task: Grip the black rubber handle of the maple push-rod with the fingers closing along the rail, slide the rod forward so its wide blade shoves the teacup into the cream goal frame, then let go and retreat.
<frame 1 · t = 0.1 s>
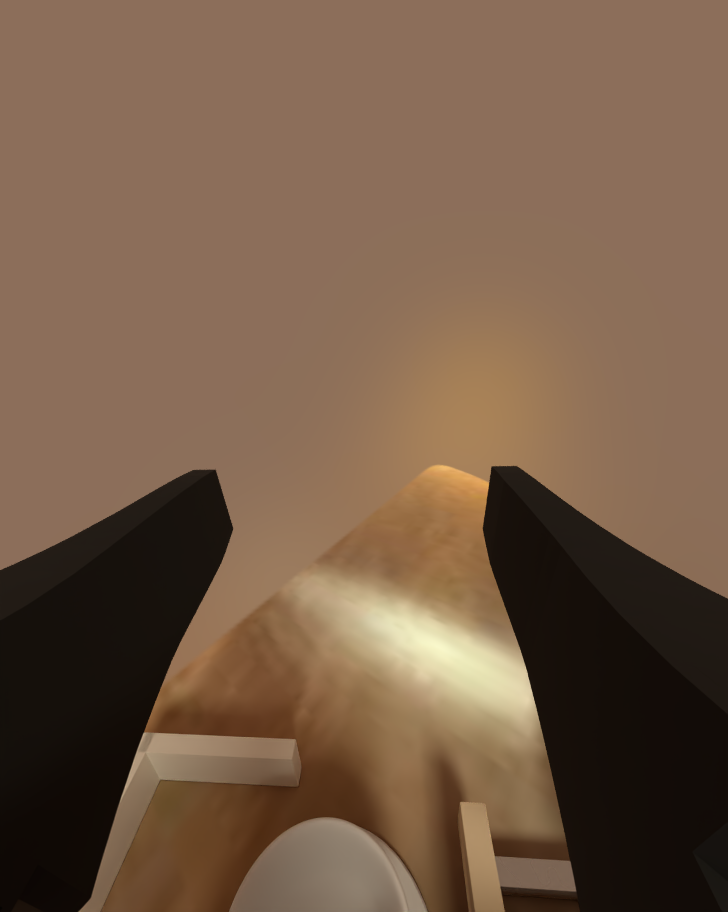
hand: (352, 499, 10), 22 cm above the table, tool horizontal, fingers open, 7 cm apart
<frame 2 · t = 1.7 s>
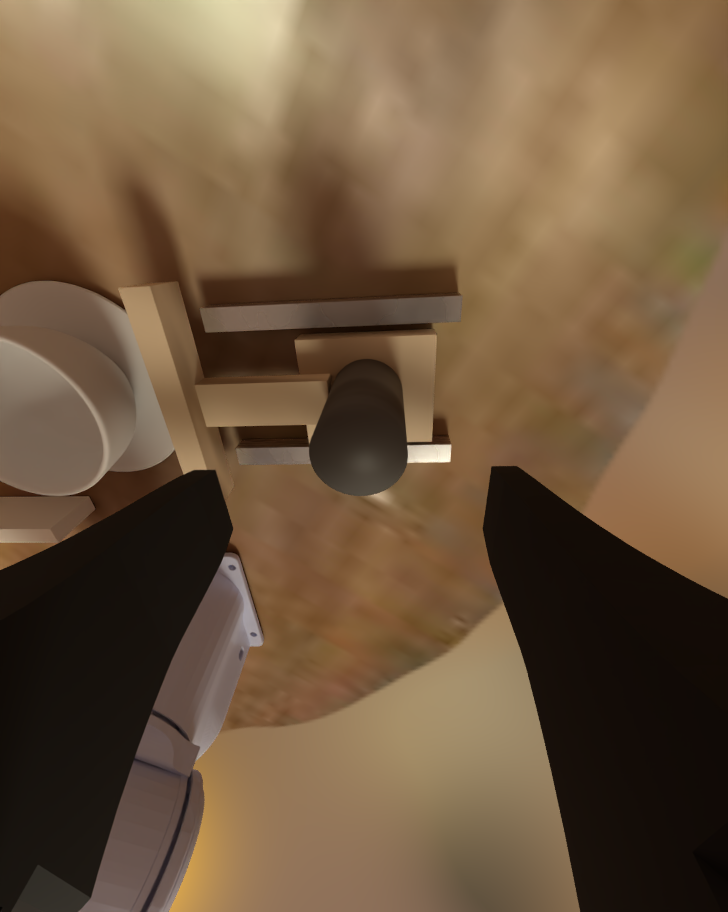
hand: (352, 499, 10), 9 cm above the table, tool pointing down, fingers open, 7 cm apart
rail: (338, 384, 18), on the table
teacup: (96, 384, 19), on the table
pushrod: (296, 415, 15), point 4 cm above the table, slide at 0.0 cm
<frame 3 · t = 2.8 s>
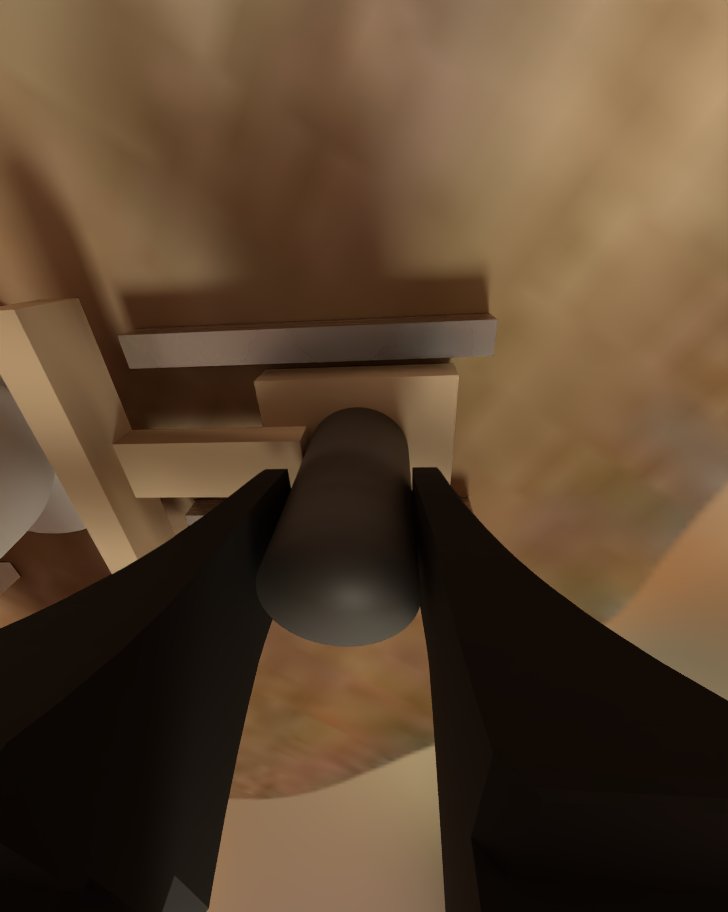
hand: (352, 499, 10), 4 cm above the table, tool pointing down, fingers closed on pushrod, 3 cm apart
rail: (320, 434, 13), on the table
teacup: (6, 424, 14), on the table
pushrod: (253, 493, 10), point 4 cm above the table, slide at 0.0 cm, touching gripper
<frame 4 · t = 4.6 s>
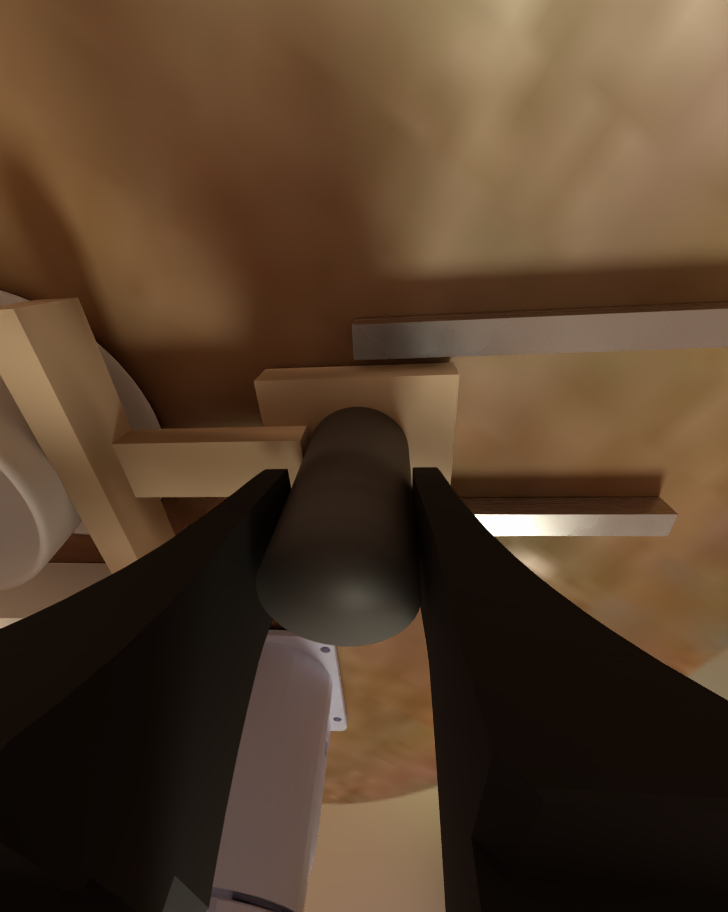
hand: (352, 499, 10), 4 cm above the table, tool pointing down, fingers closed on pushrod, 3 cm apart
rail: (520, 430, 13), on the table
teacup: (47, 424, 14), on the table
pushrod: (253, 493, 10), point 4 cm above the table, slide at 7.0 cm, touching gripper
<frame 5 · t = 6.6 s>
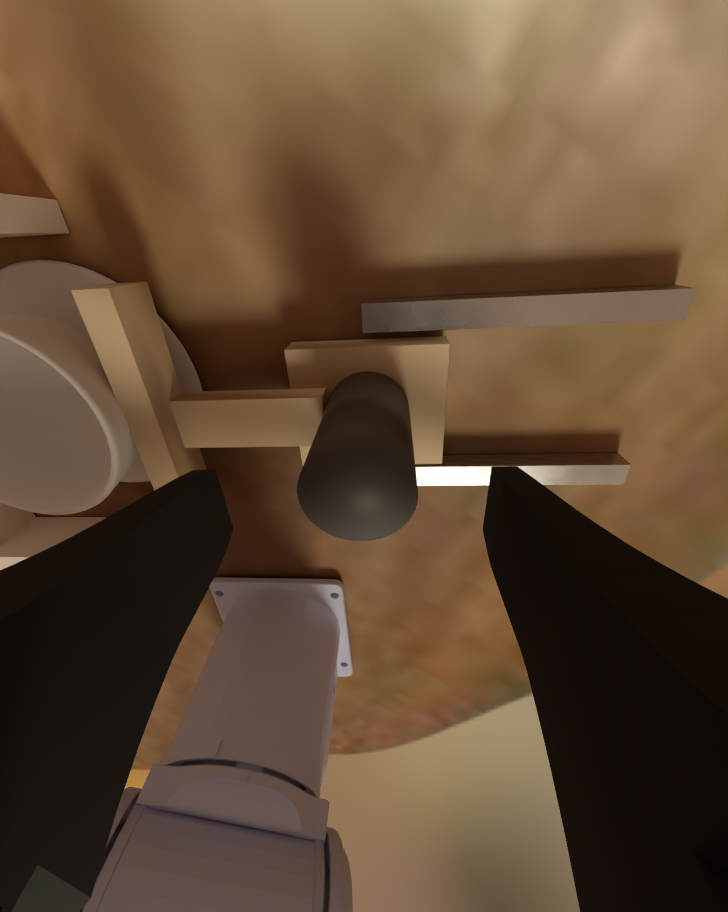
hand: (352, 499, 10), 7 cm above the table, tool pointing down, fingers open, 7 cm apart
rail: (499, 394, 15), on the table
teacup: (102, 383, 17), on the table
pushrod: (285, 437, 13), point 4 cm above the table, slide at 6.9 cm
goal: (44, 406, 17), on the table
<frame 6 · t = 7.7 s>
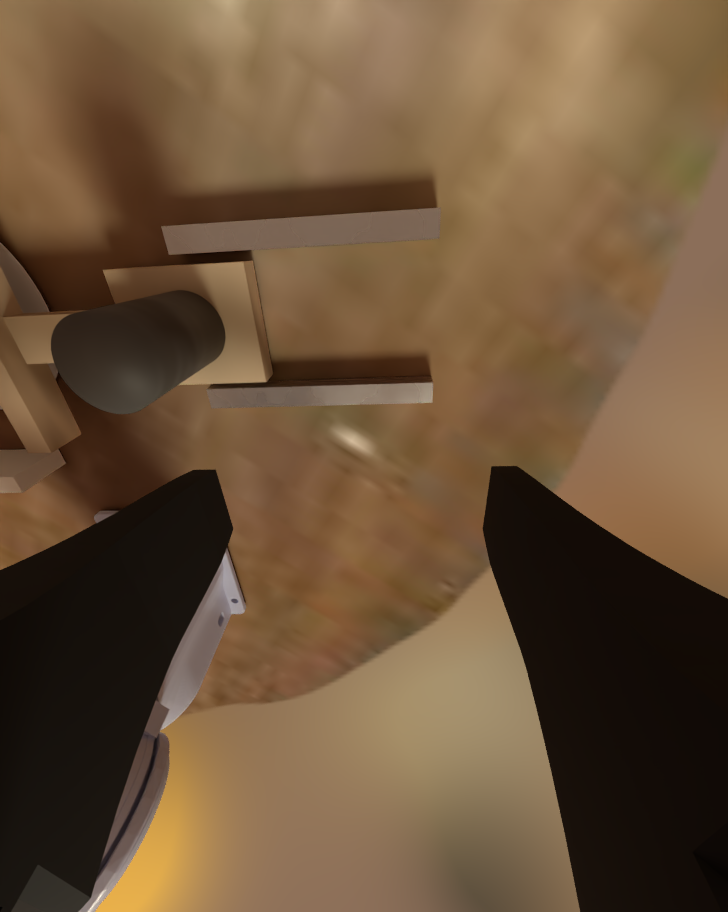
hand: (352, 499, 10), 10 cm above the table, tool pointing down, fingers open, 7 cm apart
rail: (313, 318, 17), on the table
pushrod: (95, 343, 15), point 4 cm above the table, slide at 6.8 cm
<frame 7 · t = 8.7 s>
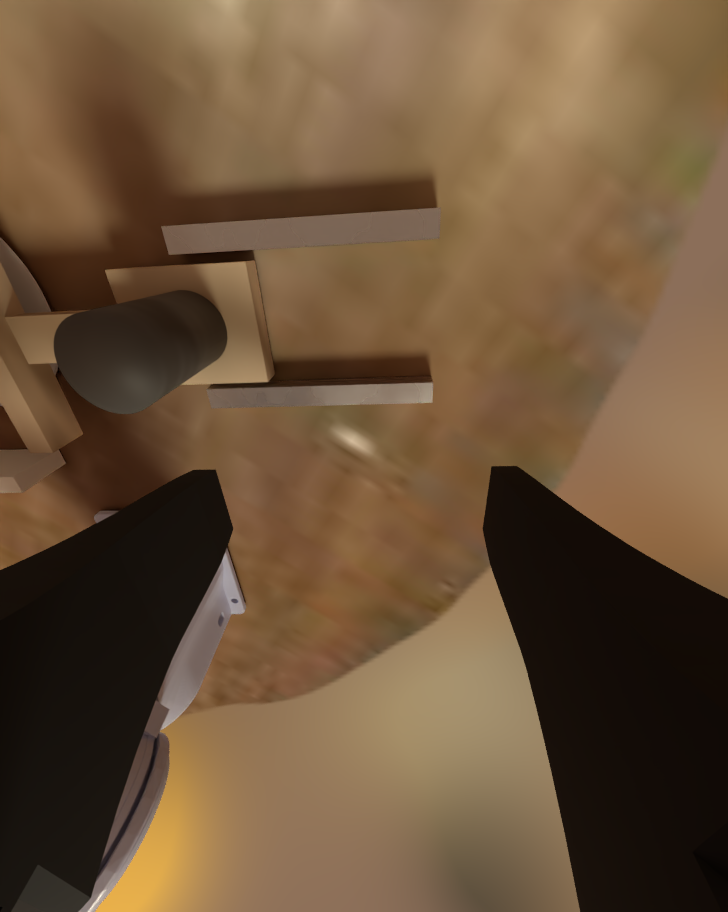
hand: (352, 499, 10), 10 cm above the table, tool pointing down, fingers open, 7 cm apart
rail: (313, 318, 17), on the table
pushrod: (97, 343, 15), point 4 cm above the table, slide at 6.7 cm
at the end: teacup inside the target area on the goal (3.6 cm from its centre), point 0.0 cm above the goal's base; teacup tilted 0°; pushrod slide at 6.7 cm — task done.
